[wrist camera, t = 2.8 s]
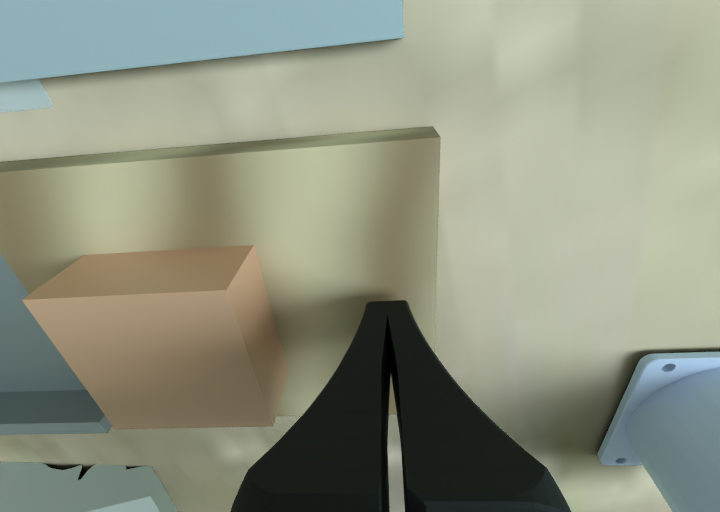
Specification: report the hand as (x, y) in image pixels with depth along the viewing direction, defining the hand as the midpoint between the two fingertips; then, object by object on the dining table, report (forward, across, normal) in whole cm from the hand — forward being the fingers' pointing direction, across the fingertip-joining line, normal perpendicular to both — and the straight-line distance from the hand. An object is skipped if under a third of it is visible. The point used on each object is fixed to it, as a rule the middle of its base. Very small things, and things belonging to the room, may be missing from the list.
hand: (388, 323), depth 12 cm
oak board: (+2, +6, 0) cm, 6 cm away
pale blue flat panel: (+3, +5, -10) cm, 11 cm away
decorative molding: (+3, +21, +30) cm, 36 cm away
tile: (+1, +7, 0) cm, 7 cm away
